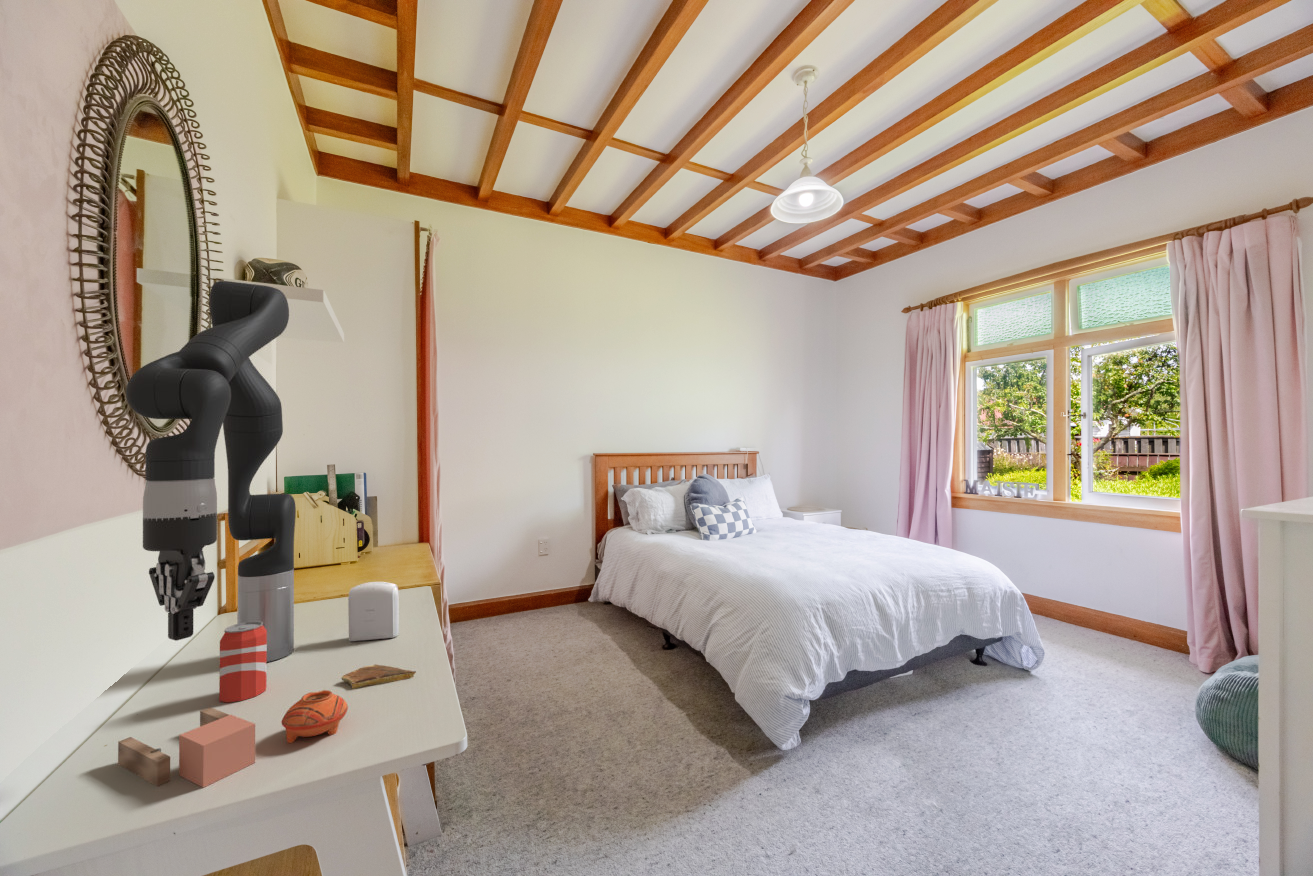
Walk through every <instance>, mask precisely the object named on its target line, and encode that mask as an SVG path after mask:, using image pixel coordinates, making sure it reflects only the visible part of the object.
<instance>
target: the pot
mask: <svg viewBox="0 0 1313 876" xmlns="http://www.w3.org/2000/svg"><path fill="white" fill-rule="evenodd" d="M348 709H349V707H348V703H347V701H346V700H345V699H344V698H343V697H341V696H340V695H337V694H334V693H333V691H331V690H326V689H324V690H320V691H312V692H307V693H306V694H304V695H303V696H302V697H301V698H300V699H299V700H297V701H296V702H295V703H293V704H292V705H291V706H290V707H289V709H287V711H286V712H285V714H284V716H283V717H282V719H281V726H282V727H283V728H284V729H285V733H286V734H285V735H286V736H285V737H286V741H287V743H288V744H293V743H294V742H295V741H296V739H297V738H298V737H304V738H306V737H315V736H318V735H322V734H324V733H328V735H329V736H332V735H336V733H337V731H338V728H339V724H340V721H342V720H343V718H344V717H345V715H346V714H347V713H348Z"/></svg>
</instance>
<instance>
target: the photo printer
mask: <svg viewBox="0 0 1313 876" xmlns="http://www.w3.org/2000/svg"><path fill="white" fill-rule="evenodd" d="M348 592H349V593H348V600H347V602H348V604H347V605H348V606H347V607H348V610H347V611H348V640H349V641H350V642H356V641H357V642H359V641H370V640H381V639H382V640H383V639H392V638H396V637H397V636H399V634H400V619H399V618H400V616H399V615H400V613H399V611H400V608H399V587H398V584H395V583H393V582H387V581H369V582H364V583H361V584H358V585H355V586H353V587H352V588H350V589H349V591H348Z"/></svg>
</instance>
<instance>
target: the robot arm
mask: <svg viewBox="0 0 1313 876" xmlns="http://www.w3.org/2000/svg"><path fill="white" fill-rule="evenodd" d="M208 300H209V315H210V319H211V321H210V322H211V326H212V327H209V328H206V329H204V330H202V331H200V332H199V333H197V334H195V335H194V336H193V337H192V338H191V339H189V340H188V341H187V343H186V344H184V346H182V348H181V349H180V350H179V351H176V352H173V353H169V354H167V355H165V356H162V357H160V358H158V359H155V360H153V361H151V362H149V363H147V364H145V365H143V366H142V367H141V368H139V369H138V370H136V371H135V372H134V373H133V374H132V375H131V377H130V378H129V380H128V382H127V385H126V387H125V397H126V401H127V403H128V405H129V407H130V408H131V409H132V410H133V412H135V413H137V414H138V415H140V416H141V417H145V418H147V419H148V418H149V419H154V420H190V422H189V424H188V425H187V427H186V429H184V430H183V431H182V432H180V433H178V434H173V435H167V436H162V437H157V438H153V439H150V440H149V442H147V445H146V449H145V485H144V491H143V497H142V549H143V550H145V551H148V552H159V553H158V557H157V561H158V562H157V563H156V565H155V566H153V567H149V570H148V574H149V578H150V580H151V584H152V586H153V589H154V592H155V593H154V594H155V595H156V599H157V601H158V605H159V606H164V611H165V612H166V613H167V638H168V639H170V640H172V641H181V640H185V639H188V638H190V637H192V636H193V635H194V610H196V609H197V608H198V607H202V606H203V605H204V603H205V601H206V599H207V597H208V594H209V592H210V590H211V587H212V585H213V583H214V581H215V573H214V572H213V571H211V572H205V570H206V560H205V556H204V551H203V549H204V547H206V546H211V545H213V544H214V543H216V542H217V540H218V525H217V524H218V494H217V488H216V487H217V486H216V479H215V469H216V468H215V455H216V454H215V453H216V448H217V447H216V446H217V443H218V439H219V436H220V432H221V430H222V429H223V437H224V442H225V443H224V444H225V453H226V462H227V516H228V517H227V518H228V519H227V521H228V530H229V532H230V533H229V534H230V535H231V536H232V538H233V539H234V540H235V541H252V540H254V541H255V540H256V541H257V540H269V539H274V543H273V545H271V546H269V548H267V549H265V550H263V551H262V552H259V553H257V554H254V555H251V556H248V557H246V558H244V559H241V560H240V561H239V563H238V565H237V613H236V614H237V617H236V620H237V623H236V624H240V623H245V622H254V621H258V622H263V624H262V625H263V626H264V628H265V629H266V630H267V663H269V662H273V661H276V660H279V659H282V658H286V657H287V656H289V655H290V654H291V655H292V653H293V652H294V650H295V647H294V645H295V642H294V641H295V639H294V638H295V582H294V581H295V579H294V577H295V575H294V574H295V566H294V565H295V558H294V557H295V555H294V554H295V528H296V516H297V515H296V508H297V507H296V501H295V499H294V496H293V495H292V494H290V493H267V494H266V493H265V494H264V493H263V494H251V493H250V487H251V484H252V481H253V479H254V478H255V475H256V474H257V472H258V470H259V469H260V468H261V466H262V464H264V462H265V461H266V460H267V458H268V457H269V456H270V454H271V453H272V452H273V450H274V449H275V448H276V446H277V445H278V444H279V442H280V441H281V438H282V436H283V433H284V432H283V431H284V430H283V429H284V427H283V409H282V402H281V399H280V398H279V395H278V394H277V393H276V391H275V390H274V388H273V387H272V386H271V385H270V383H269V382H268V381H267V380H266V379H265V378H264V376H263V375H262V374H261V373H260V372H259V370H258V369H257V368H256V366H255V365H254V364H253V362H252V360H251V359H250V357H251V356H252V355H253V354H255V353H256V352H257V351H260V350H261V349H262V348H264V347H265V346H267V345H268V344H270V343H271V342H272V341H273V340H275V339H277V338H278V337H279V336H281V335H282V334H283V332H285V330H286V328H287V327H288V324H289V319H290V308H289V303H288V299H287V297H286V295H285V293H284V292H283V291H281V290H280V289H278V288H276V287H273V286H268V285H262V284H261V285H260V284H256V283H255V284H253V283H247V282H246V283H245V282H239V281H238V282H236V281H228V280H218V281H215V283H213V285H212V286H211V288H210V291H209V299H208Z"/></svg>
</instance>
